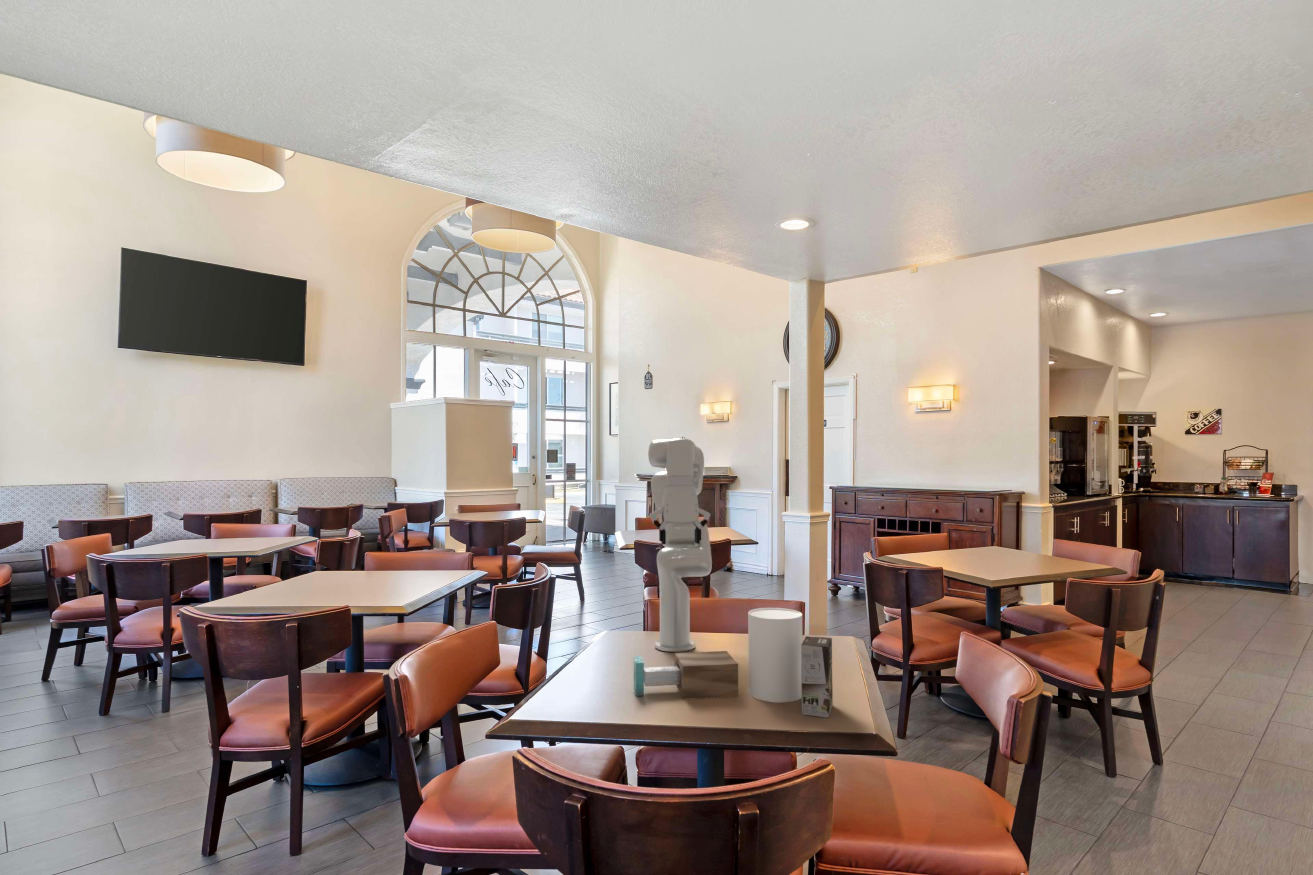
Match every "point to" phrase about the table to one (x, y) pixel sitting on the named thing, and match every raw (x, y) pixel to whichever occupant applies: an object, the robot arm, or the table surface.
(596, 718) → the table surface
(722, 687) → the block
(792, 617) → the canister
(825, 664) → the coffee box
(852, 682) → the table surface
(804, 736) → the table surface
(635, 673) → the peg
